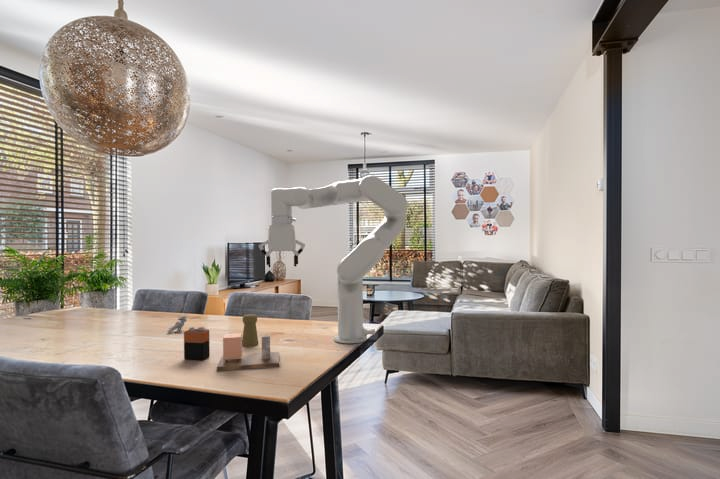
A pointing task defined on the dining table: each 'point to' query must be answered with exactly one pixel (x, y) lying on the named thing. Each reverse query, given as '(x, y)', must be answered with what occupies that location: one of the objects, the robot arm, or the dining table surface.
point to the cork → (250, 331)
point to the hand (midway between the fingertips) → (282, 266)
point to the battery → (196, 344)
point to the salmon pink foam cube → (232, 346)
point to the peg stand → (252, 359)
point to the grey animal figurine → (178, 324)
